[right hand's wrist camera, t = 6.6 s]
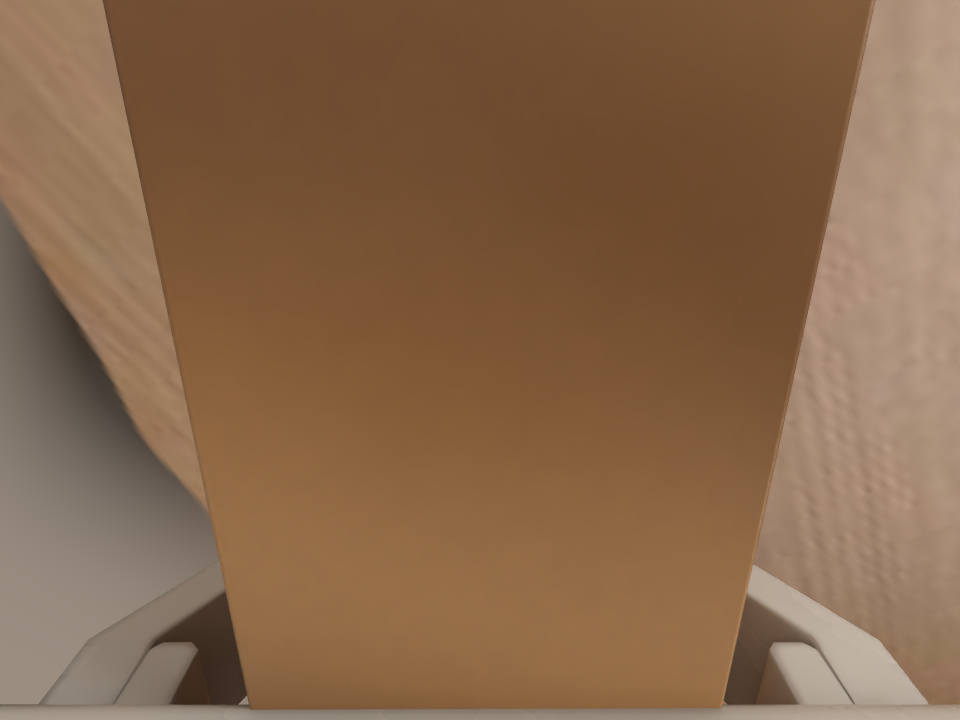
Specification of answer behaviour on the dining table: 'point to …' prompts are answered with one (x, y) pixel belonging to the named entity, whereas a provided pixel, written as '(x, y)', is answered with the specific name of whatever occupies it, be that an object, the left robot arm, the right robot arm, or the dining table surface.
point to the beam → (487, 325)
